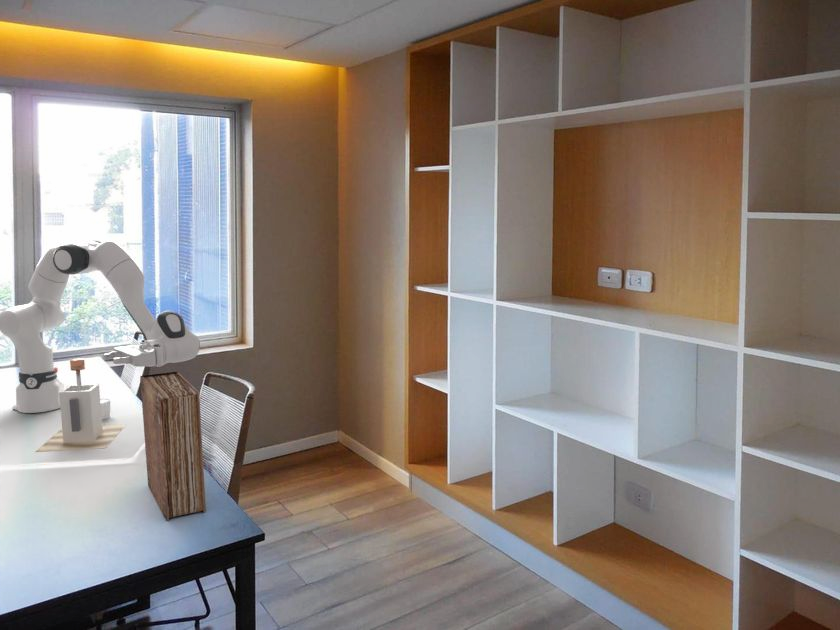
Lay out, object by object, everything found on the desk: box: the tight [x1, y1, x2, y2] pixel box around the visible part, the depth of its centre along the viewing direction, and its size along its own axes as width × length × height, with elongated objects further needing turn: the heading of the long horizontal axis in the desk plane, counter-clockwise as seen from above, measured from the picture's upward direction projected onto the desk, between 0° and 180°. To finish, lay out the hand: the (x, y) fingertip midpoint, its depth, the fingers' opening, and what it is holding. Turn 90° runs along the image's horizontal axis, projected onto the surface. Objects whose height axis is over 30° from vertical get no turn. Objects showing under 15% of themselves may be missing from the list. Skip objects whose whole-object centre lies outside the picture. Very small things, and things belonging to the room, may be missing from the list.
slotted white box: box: [59, 383, 103, 443], centre depth 220 cm, size 11×9×16 cm
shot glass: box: [100, 398, 111, 420], centre depth 243 cm, size 7×7×7 cm
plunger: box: [69, 358, 86, 391], centre depth 220 cm, size 6×6×24 cm
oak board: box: [35, 423, 127, 453], centre depth 222 cm, size 24×20×1 cm
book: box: [139, 371, 207, 522], centre depth 175 cm, size 25×9×30 cm, turn 30°
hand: (108, 359), depth 225 cm, fingers open, 8 cm apart
